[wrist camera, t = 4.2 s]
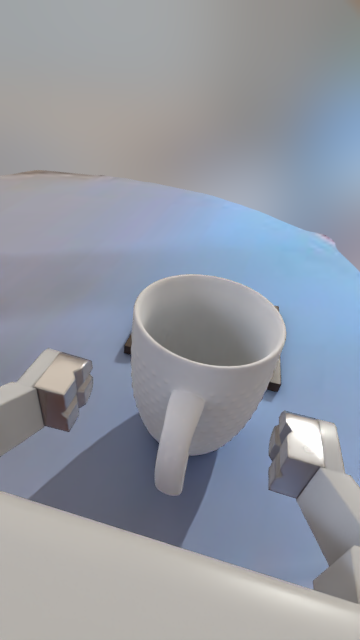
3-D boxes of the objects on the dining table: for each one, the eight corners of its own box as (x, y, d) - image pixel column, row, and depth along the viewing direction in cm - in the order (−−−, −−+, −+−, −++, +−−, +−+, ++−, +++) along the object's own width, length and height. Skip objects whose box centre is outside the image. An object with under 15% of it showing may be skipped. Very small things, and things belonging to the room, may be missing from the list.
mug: (233, 552, 23) (295, 450, 15) (87, 506, 24) (75, 389, 17) (247, 394, 35) (286, 290, 27) (148, 368, 36) (158, 262, 28)
